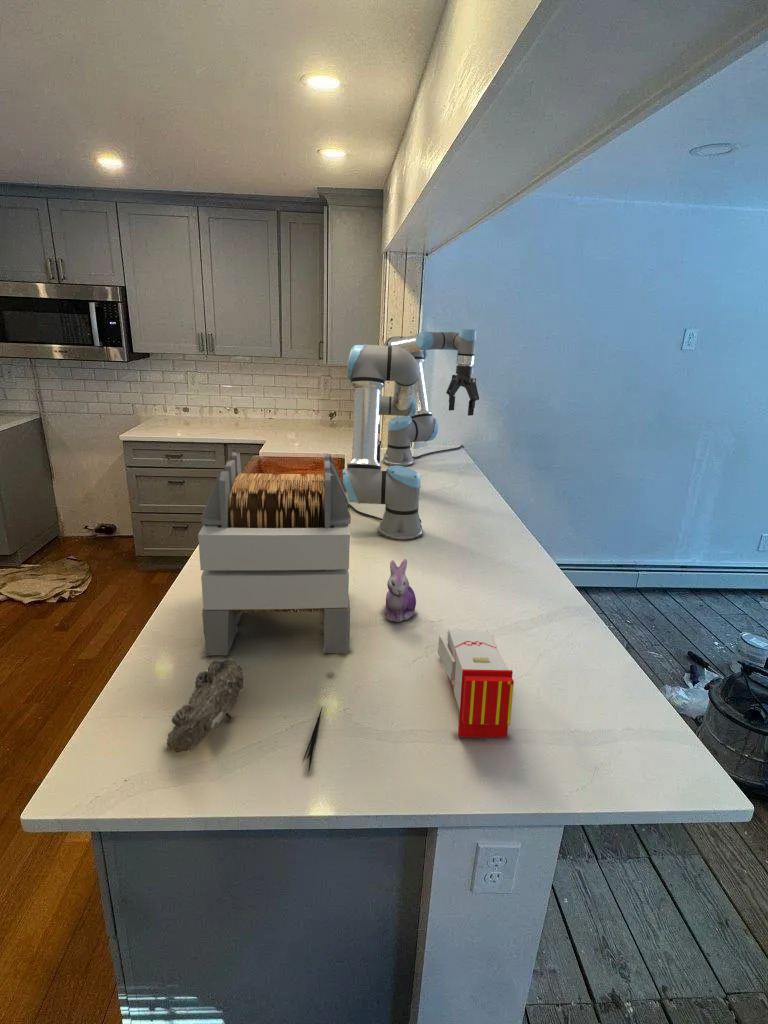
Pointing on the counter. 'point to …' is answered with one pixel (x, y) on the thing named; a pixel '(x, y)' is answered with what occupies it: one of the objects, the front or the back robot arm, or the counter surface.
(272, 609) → the record crate
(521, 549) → the counter surface
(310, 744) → the feather
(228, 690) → the fossil
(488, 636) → the toy
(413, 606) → the figurine
